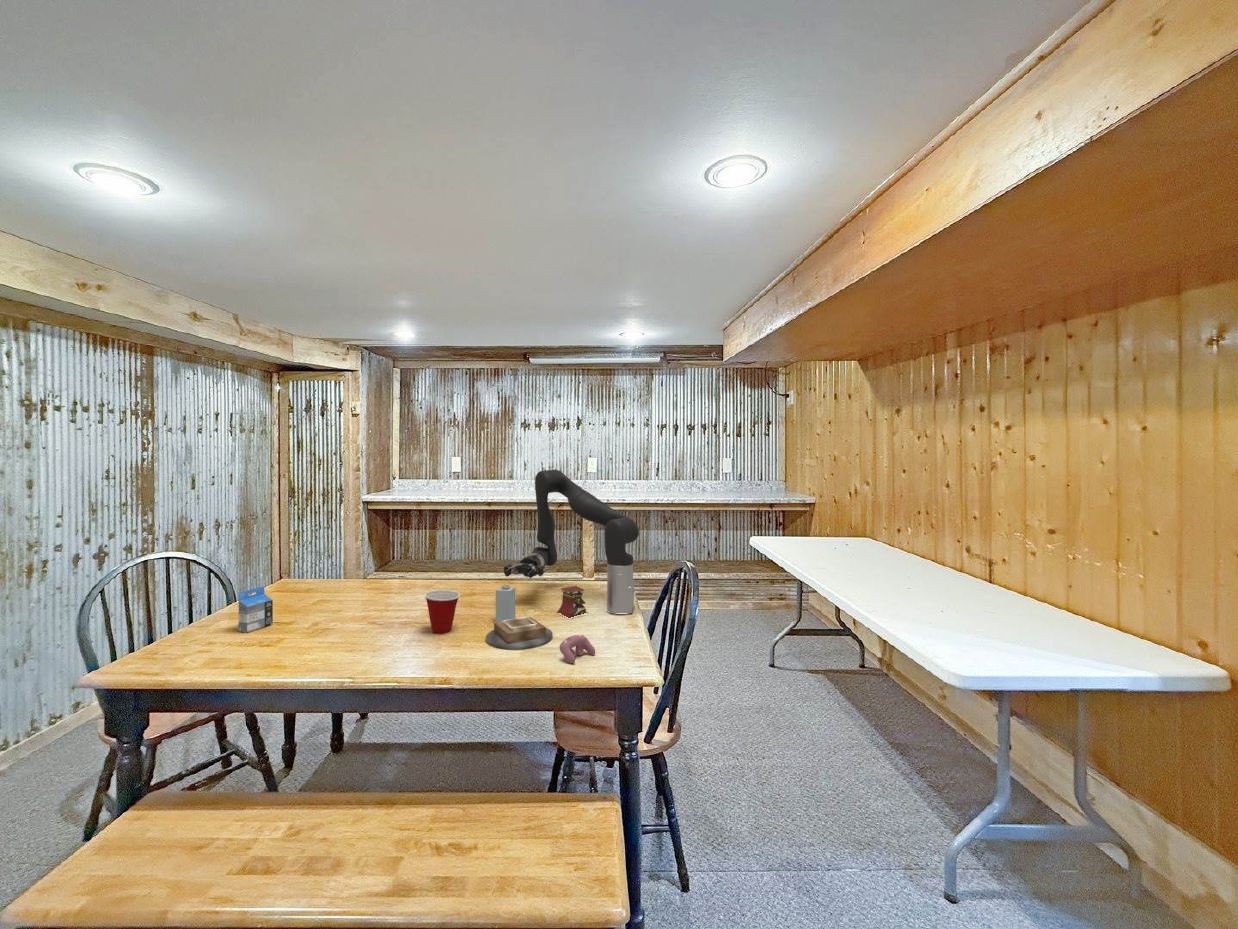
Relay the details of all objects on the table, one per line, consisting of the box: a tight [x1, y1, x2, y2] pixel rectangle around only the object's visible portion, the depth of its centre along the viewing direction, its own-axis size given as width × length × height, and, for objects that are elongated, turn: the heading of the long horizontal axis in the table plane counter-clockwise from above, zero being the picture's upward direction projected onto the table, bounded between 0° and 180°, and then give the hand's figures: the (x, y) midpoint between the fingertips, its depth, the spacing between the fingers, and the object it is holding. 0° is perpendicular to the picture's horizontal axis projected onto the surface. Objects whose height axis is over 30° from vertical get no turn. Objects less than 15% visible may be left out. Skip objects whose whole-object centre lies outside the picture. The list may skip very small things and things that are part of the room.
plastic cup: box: [424, 589, 461, 635], centre depth 175 cm, size 11×11×12 cm
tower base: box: [485, 616, 554, 651], centre depth 169 cm, size 20×20×5 cm
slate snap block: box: [495, 584, 516, 623], centre depth 185 cm, size 5×5×12 cm
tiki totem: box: [556, 585, 588, 618], centre depth 194 cm, size 9×9×9 cm
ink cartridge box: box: [238, 586, 274, 633], centre depth 176 cm, size 9×4×12 cm, turn 161°
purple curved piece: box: [559, 634, 596, 664], centre depth 154 cm, size 10×5×7 cm, turn 141°
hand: (518, 574), depth 196 cm, fingers open, 8 cm apart
